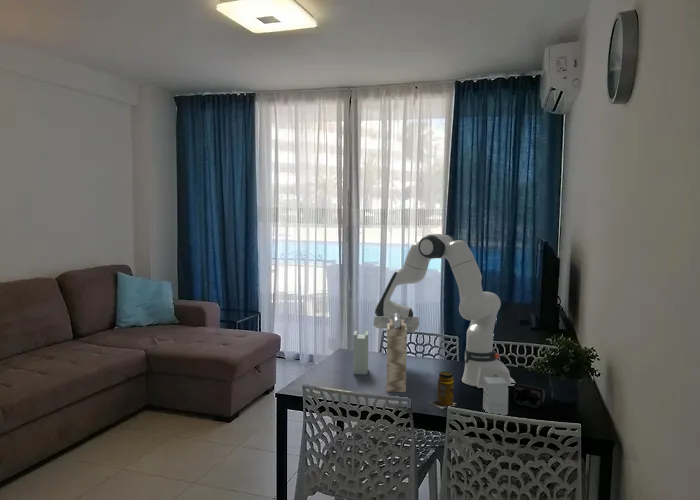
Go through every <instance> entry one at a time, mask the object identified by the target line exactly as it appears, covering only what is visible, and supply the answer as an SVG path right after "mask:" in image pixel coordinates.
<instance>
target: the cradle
mask: <svg viewBox="0 0 700 500" xmlns="http://www.w3.org/2000/svg"><path fill="white" fill-rule="evenodd" d="M352 342H353V349H352V350H353V353H352V355H353V356H352V357H353V358H352V361H353V364H352V366H353V367H352V370H353V373H352V374H353V375H368V372H369V331H368V330H366V331H365V332H364V334H359V333H358V330H354V332H353V339H352Z"/></svg>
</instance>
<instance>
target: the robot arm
mask: <svg viewBox="0 0 700 500" xmlns="http://www.w3.org/2000/svg"><path fill="white" fill-rule="evenodd" d="M443 258H445V259H446V261H448V264H449V265H450V269H451V271H452V275H453V276H454V279H455V281H456V284H457V288H458V293H459V304H458V305H459V306H458V312H459V314H460V316H461V318H463V319H465V320H466V321H470V322H469V326H468V328H467V330H466V343H465V344H466V346H465V349H464V362H465V363H464V371H463V375H462V378H461V381H462V383H464V384H466V385H468V386H472V387H475V386H476V388H477V389H480V388H483V379H484V377H502V378H503V379H505V380H506V381H507V382H508V386H514V385H515V384H516V381H515V380H514V379H513V378H512V377H511V375H510V373H511V372H510V370H509V368H508V367H506V365H504V364H503V363H502V362H501V361H500V360H499V359H500V358H501V357H500V354H499V352H498V353H497V351H496V350H493V344H494V342H493V341H494V340H493V339H494V329H495V326H496V325H495V324H496V321H497V315H498V313H499V310H500V309H501V305H502V302H501V299H500V297H499V296H498V295H497V294H496V293H494V292H492V291H483V285H482V279H483V276H482V273H481V270H480V268H479V266H478V263H477V261H476V258H475V255H474V254H473V252H472V249H470V247H469V245H468V244H467V243H466V242H465V241H464V240H461V239H460V240H459V239H457V240H456V238H455V237H454V236H452V235H450V234H447V233H446V234H445V233H444V234H441V233H434V234H427V235H425V236H423V237H422V238H420V240H419V241H416V242H414V243H412V245H411V246H410V247H409V250H408V252H407V254H406V257H405V260H404V263H403V265H402V266H401V268H400V269H397V270H395V271H394V272H393V274H392V275H391V278H390V280H389V281H388V284H387V285H386V288H385V289H384V292H383V294H382V296H381V297H380V300H379V301H378V302H377V304H376V306H375V308H374V314H375V316H374V317H373V323H372V324H373V326H374V327H375V328H376V329H385V330H386V333H385V334H387V323H390V319H392V322H393V314H394V313H398V314H399V315H400V323H401V320H404V323H406V327H407V335H412V334H415V332H416V331H417V330H418V328H419V326H420V318H419V317H418V316H414V311H413V309H412V308H411V307H409V306H407V305H405V304H404V305H403V304H400V303H397V302H395V301H391V297H392V296H393V294H394V292H395V289H396V288H397V287H399V286H400V285H408V284H409V285H412V284H417V283H420V282H421V281H423V279H424V278H425V276H426V275H427V271H428V268H429V265H430V262H431V260H432V259H443ZM511 383H515V384H511Z"/></svg>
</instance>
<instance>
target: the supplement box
mask: <svg viewBox="0 0 700 500" xmlns="http://www.w3.org/2000/svg"><path fill="white" fill-rule="evenodd" d="M482 390H483V393H482V394H483V396H482V410H483V409H484V410H485V412H488V413H494V414H501V415H507V414H509V388H508V382H507V381H506V380H505V379H503V378H502V377H484V379H483V389H482ZM484 410H483V411H484ZM485 412H484V413H485Z"/></svg>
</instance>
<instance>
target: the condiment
mask: <svg viewBox="0 0 700 500" xmlns="http://www.w3.org/2000/svg"><path fill="white" fill-rule="evenodd" d="M453 377H454V374H453V373H452V372H450V371H439V374H438V379H437V399H436V400H433V401H429V402H428V403H429V404H431V405H433V406H435V407H436V408H439V409H446V407H447V406H451V407H454V406H455V407H456V405H455V404H457V403H456V402H454V384H455V381H454V378H453ZM447 408H448V407H447Z"/></svg>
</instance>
